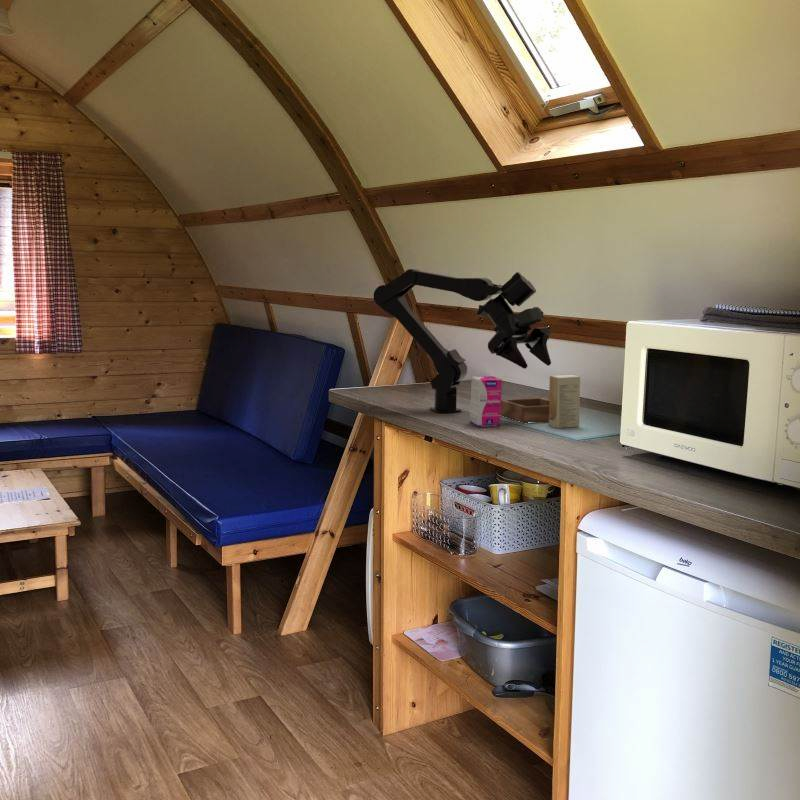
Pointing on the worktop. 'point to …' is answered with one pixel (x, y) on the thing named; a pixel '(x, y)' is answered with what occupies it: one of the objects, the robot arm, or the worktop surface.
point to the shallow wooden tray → (526, 409)
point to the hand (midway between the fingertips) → (538, 366)
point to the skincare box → (564, 401)
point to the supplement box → (485, 401)
